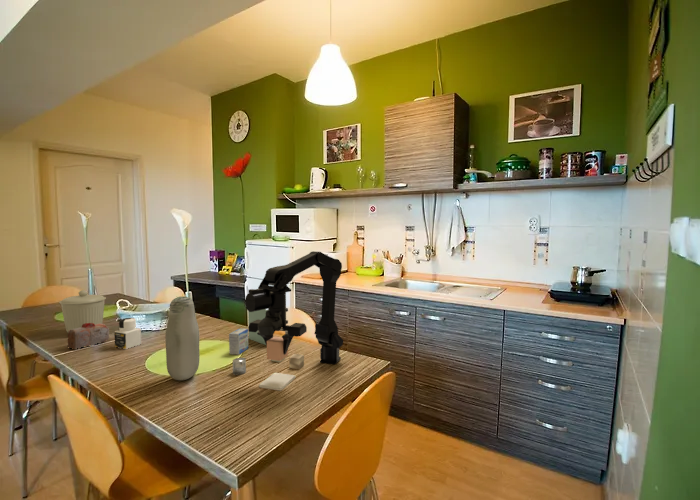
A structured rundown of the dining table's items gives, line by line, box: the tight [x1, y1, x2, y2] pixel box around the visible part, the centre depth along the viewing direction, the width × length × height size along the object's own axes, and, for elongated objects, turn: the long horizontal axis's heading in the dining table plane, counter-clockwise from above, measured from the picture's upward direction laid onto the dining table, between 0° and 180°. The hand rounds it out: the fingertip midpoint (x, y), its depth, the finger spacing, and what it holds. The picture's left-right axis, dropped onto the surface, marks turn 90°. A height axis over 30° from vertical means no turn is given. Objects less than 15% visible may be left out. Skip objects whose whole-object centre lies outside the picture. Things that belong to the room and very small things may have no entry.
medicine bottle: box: [114, 317, 142, 350], centre depth 147 cm, size 7×7×12 cm
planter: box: [247, 309, 268, 346], centre depth 155 cm, size 16×8×20 cm, turn 49°
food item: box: [66, 322, 110, 350], centre depth 148 cm, size 14×8×10 cm, turn 156°
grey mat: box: [258, 372, 296, 391], centre depth 112 cm, size 8×10×1 cm
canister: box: [58, 289, 107, 334], centre depth 166 cm, size 18×18×21 cm
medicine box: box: [228, 328, 249, 356], centre depth 141 cm, size 8×4×9 cm, turn 168°
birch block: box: [288, 353, 305, 370], centre depth 125 cm, size 4×4×4 cm
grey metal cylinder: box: [232, 357, 247, 376], centre depth 120 cm, size 4×4×4 cm
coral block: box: [266, 336, 289, 362], centre depth 112 cm, size 5×5×6 cm
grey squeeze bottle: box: [164, 296, 200, 381], centre depth 114 cm, size 10×10×28 cm
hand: (277, 353), depth 112 cm, fingers closed on coral block, 5 cm apart
